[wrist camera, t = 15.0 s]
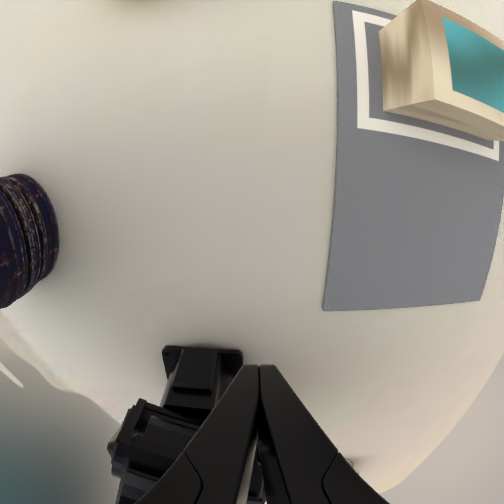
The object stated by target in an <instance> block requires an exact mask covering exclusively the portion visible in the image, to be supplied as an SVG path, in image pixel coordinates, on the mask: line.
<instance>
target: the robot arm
mask: <svg viewBox="0 0 504 504" xmlns="http://www.w3.org/2000/svg"><path fill="white" fill-rule="evenodd" d="M166 351H167V352H170V353H167V352H166ZM234 356H238V357H234ZM162 357H163V361H164V366H165V370H166V374H167V378H168V382H167V385H166V388H165V391H164V394H163V397H162V400H161V403H160V406H157V405H154V404H151V403H148V402H147V401H146V400H144V399H141V398H139V400H138V402H137V404H136V406H135V405H133V407H132V408H131V409H128V412H127V414H126V416H125V419H124V421H123V423H122V425H121V427H120V428H119V430H118V431H117V432H116V434H115V435H114V436H113V438H112V439H111V440H110V442H109V443H108V446H107V450H108V452H109V454H110V456H111V458H112V461H111V463H112V475H113V476H115V477H118V478H120V479H121V481H120V485H119V490H118V494H117V499H116V504H264V503H265V502H266V501H267V504H390V503H388V502H387V501H386V500H385V499H384V498H383V497H381V496H380V495H379V494H378V493H377V492H376V491H375V490H374V489H373V488H372V487H370V486H369V485H368V484H367V483H366V482H365V481H364V480H363V479H362V478H361V477H360V476H359V475H358V473H357V472H356V471H355V470H354V469H353V468H352V467H351V465H350V464H349V463H348V462H347V461H346V459H345V458H344V457H343V456H342V454H341V453H338V449H337V448H336V447H335V446H334V444H333V443H332V442H331V440H330V439H329V438H328V437H327V435H326V434H325V433H324V431H323V430H322V429H321V427H320V426H319V425H318V423H317V422H316V421H315V419H314V418H313V417H312V415H311V414H310V413H309V411H308V410H307V409H306V407H305V406H304V405H303V403H302V402H301V401H300V399H299V398H298V397H297V395H296V394H295V392H294V391H293V390H292V388H291V387H290V385H289V384H288V383H287V381H286V380H285V379H284V377H283V376H282V374H281V373H280V372H279V370H278V369H277V367H276V366H275V365H260V366H258V365H257V364H244V365H243V354H242V352H240V351H238V350H217V349H199V348H185V347H173V346H165V347H164V348H163V350H162Z"/></svg>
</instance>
